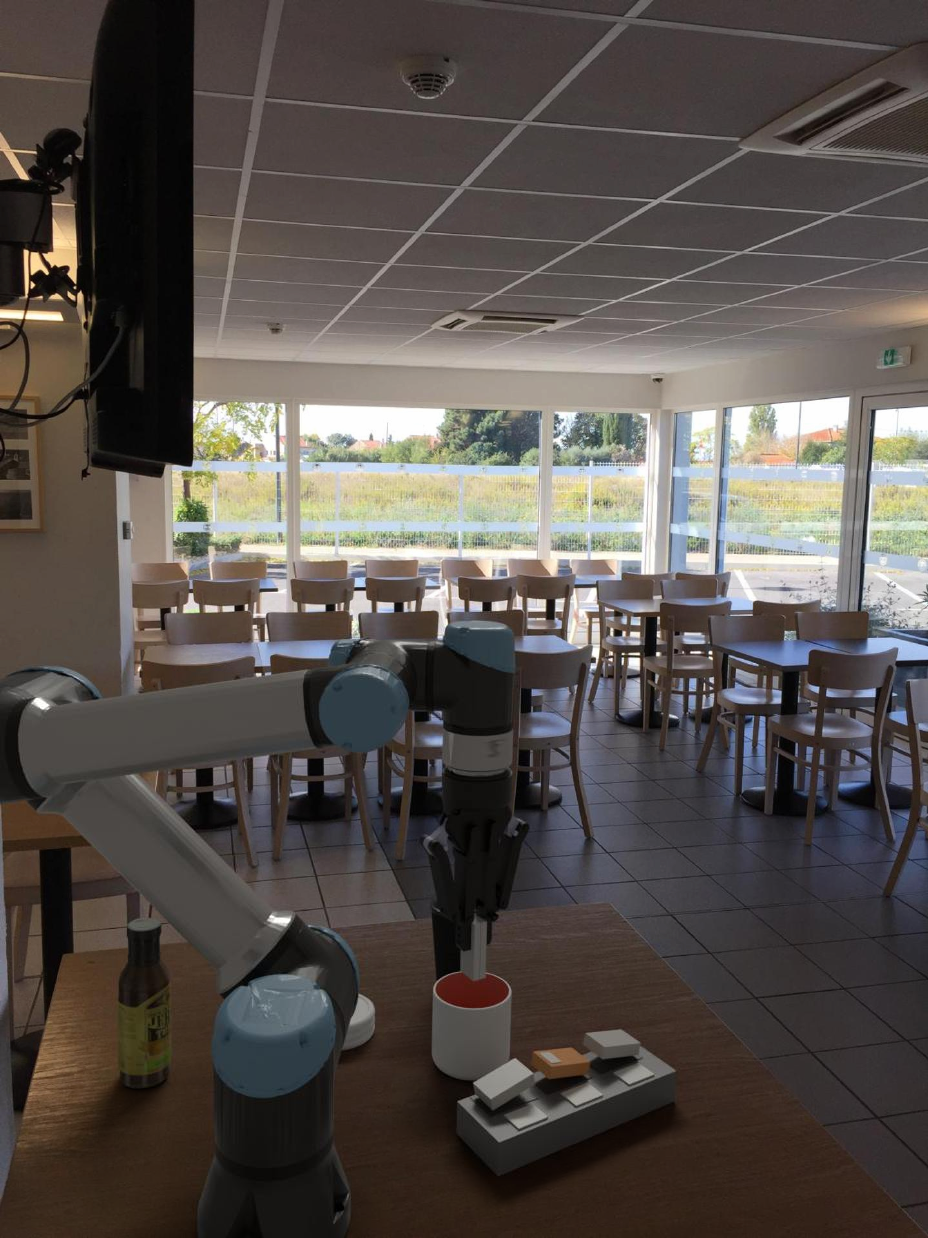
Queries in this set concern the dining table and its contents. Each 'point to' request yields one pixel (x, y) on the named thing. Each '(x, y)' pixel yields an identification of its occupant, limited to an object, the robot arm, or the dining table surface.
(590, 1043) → the rocker
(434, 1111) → the dining table surface
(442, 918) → the drinking cup
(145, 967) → the sauce bottle
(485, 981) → the cup
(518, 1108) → the switch panel
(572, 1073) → the block
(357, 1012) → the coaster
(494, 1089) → the block
